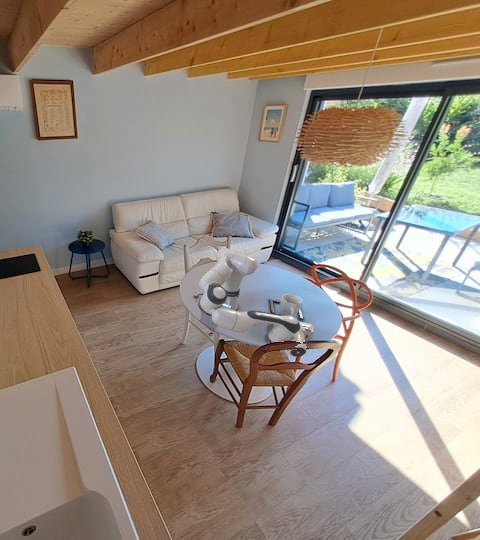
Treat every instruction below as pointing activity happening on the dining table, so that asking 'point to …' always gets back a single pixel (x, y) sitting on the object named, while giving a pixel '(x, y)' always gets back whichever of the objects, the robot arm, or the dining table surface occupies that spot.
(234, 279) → the robot arm
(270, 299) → the bay rails
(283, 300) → the mug
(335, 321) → the dining table surface
